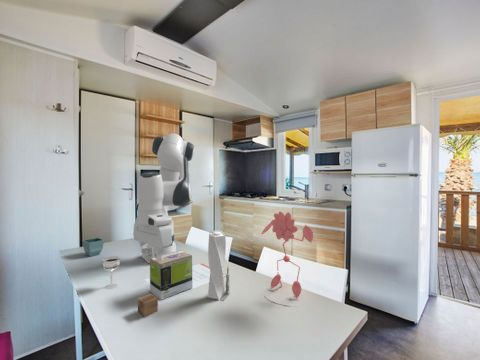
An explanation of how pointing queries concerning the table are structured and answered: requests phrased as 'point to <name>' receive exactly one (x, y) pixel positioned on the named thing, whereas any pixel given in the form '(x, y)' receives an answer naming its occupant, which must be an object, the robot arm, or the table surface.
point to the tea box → (170, 274)
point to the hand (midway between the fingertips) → (151, 255)
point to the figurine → (285, 230)
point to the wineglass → (111, 268)
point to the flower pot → (93, 246)
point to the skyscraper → (217, 266)
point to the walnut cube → (147, 305)
